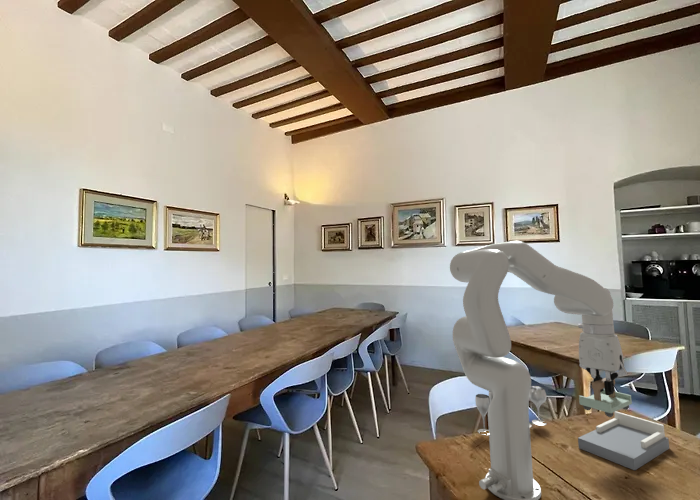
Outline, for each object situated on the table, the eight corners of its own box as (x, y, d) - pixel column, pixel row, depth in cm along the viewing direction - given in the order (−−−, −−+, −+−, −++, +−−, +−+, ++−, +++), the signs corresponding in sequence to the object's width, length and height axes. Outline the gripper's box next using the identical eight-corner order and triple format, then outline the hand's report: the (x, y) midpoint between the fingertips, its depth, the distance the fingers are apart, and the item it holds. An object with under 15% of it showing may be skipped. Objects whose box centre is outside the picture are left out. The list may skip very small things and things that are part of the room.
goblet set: (484, 437, 111) (481, 395, 112) (473, 429, 117) (471, 390, 118) (552, 425, 118) (549, 386, 120) (539, 418, 124) (536, 381, 125)
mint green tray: (611, 419, 92) (608, 388, 93) (580, 409, 99) (577, 380, 100) (632, 409, 98) (629, 380, 98) (601, 401, 105) (598, 373, 105)
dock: (634, 470, 90) (632, 445, 91) (578, 448, 102) (576, 425, 103) (669, 448, 101) (667, 425, 101) (614, 430, 113) (613, 410, 113)
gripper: (563, 327, 105) (569, 388, 104) (623, 334, 91) (630, 404, 90) (577, 325, 109) (582, 383, 108) (636, 331, 95) (643, 398, 94)
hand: (604, 392), depth 99 cm, fingers closed on mint green tray
